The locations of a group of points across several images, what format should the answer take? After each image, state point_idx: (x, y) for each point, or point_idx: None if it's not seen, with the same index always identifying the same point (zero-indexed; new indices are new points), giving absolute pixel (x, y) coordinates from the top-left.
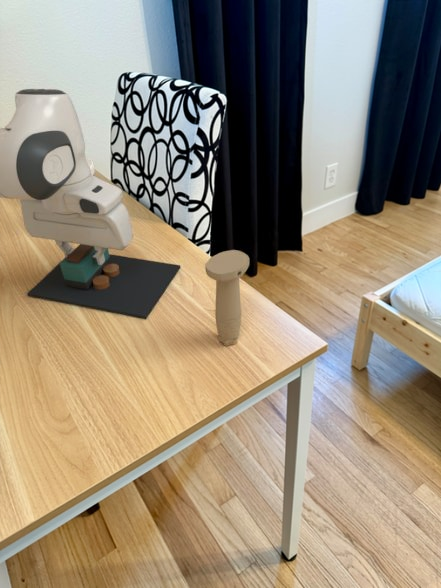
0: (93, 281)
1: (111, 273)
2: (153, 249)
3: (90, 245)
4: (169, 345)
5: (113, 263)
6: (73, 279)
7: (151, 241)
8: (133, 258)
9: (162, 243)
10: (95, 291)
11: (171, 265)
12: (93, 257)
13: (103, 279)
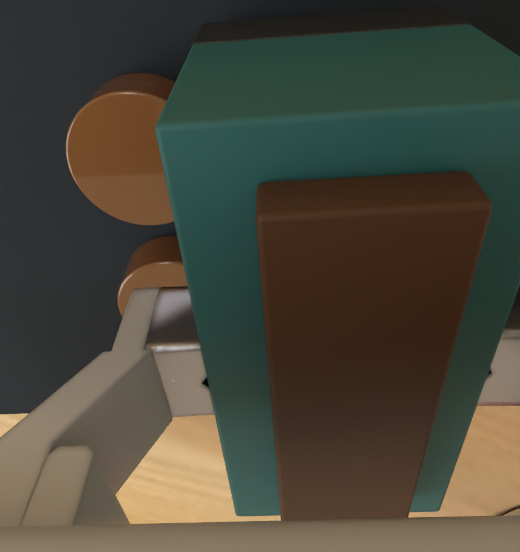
0: None
1: (138, 262)
2: (139, 466)
3: (61, 532)
4: None
5: None
6: (345, 36)
7: (190, 498)
8: None
9: (133, 498)
10: (137, 41)
11: None
12: (179, 344)
13: (120, 176)
